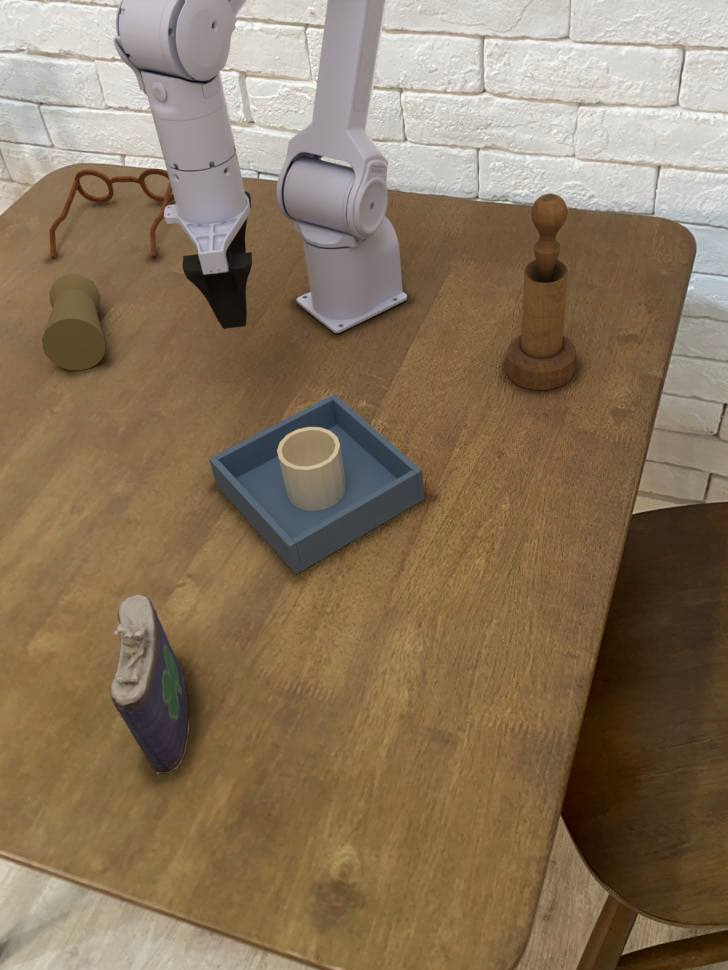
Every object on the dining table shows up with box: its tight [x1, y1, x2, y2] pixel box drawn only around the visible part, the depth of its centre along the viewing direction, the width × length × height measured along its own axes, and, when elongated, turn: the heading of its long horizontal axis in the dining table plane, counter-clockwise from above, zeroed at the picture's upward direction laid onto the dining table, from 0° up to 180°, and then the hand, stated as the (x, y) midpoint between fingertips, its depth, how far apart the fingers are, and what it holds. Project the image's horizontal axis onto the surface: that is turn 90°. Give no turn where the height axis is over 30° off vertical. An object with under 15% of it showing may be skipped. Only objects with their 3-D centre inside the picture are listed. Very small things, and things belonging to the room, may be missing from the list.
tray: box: [208, 393, 425, 575], centre depth 81 cm, size 13×13×4 cm
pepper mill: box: [41, 273, 106, 371], centre depth 98 cm, size 6×6×11 cm
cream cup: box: [277, 427, 346, 511], centre depth 80 cm, size 5×5×5 cm
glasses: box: [49, 168, 175, 259], centre depth 113 cm, size 13×13×5 cm
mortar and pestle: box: [505, 193, 577, 391], centre depth 85 cm, size 7×6×18 cm
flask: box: [109, 594, 191, 776], centre depth 64 cm, size 9×3×11 cm, turn 8°
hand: (234, 300), depth 85 cm, fingers open, 7 cm apart
